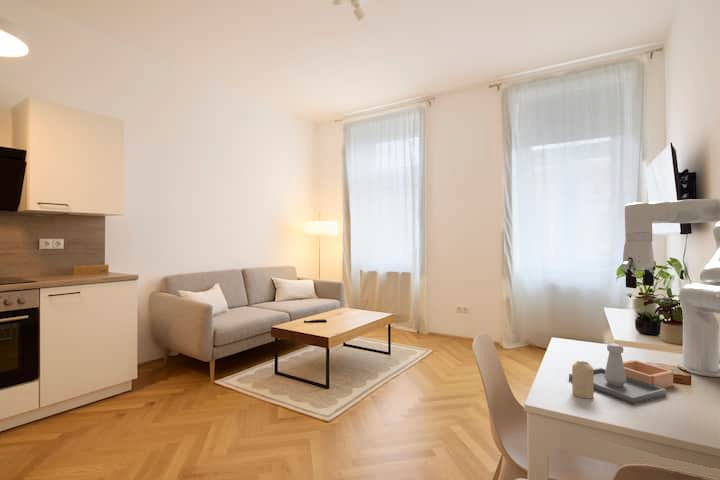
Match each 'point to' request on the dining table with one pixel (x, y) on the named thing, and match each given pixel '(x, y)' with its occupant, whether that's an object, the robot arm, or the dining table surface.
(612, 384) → the salt shaker
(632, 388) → the tray
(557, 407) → the dining table surface
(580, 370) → the candle
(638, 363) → the open container
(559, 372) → the dining table surface
